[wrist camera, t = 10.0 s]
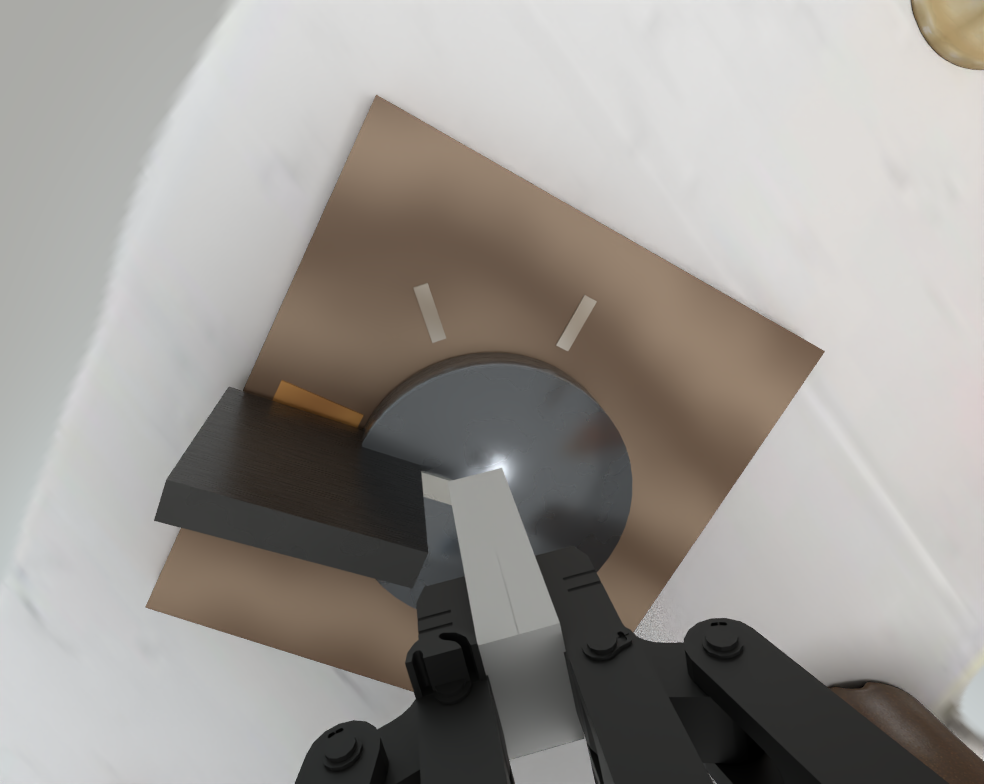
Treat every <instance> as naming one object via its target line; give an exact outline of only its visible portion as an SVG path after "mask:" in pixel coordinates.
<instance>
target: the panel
mask: <svg viewBox="0 0 984 784" xmlns="http://www.w3.org/2000/svg"><path fill="white" fill-rule="evenodd" d="M487 352H492V353H510V354H516V355H523V356H527V357H530V358H534V359H537V360H540V361H543V362H545V363H548V364H550V365H552V366H554V367H556V368H558V369H560V370H562V371H563V372H565V373H566V374H568V375H570V376H571V377H573V378H574V379H575V380H576V381H577V382H579V383H580V384H581V385H582V386H583V387H585V388H586V390H587V391H588V392H589V393H590V394H591V395H592V396H593V397H594V399H595V400H596V401H597V402H598V403H599V405H600V406H601V407H602V408H603V410H604V411H605V412H606V414H607V415H608V416H609V417H610V419H611V420H612V422H613V423H614V425H615V426H616V428H617V430H618V431H619V433H620V435H621V437H622V440H623V442H624V444H625V446H626V449H627V453H628V456H629V460H630V464H631V471H632V479H633V481H632V500H631V507H630V512H629V516H628V519H627V522H626V526H625V529H624V531H623V533H622V535H621V537H620V540H619V542H618V544H617V545H616V547H615V549H614V550H613V552H612V554H611V555H610V557H609V558H608V559H607V561H606V562H605V563H604V564H603V566H602V567H601V568H600V570H599V571H598V572H597V574H598V576H599V578H600V580H601V583H602V584H603V586H604V588H605V590H606V592H607V594H608V596H609V598H610V600H611V602H612V604H613V606H614V608H615V610H616V612H617V614H618V616H619V618H620V620H621V621H622V623H623V625H624V626H625V627H627V628H629V629H630V630H631V631H632V632H634V630H635V629H636V628H637V626H638V625H639V623H640V622H641V620H642V619H643V617H644V616H645V614H646V613H647V611H648V610H649V608H650V607H651V606H652V604H653V603H654V601H655V600H656V598H657V597H658V595H659V594H660V592H661V591H662V589H663V588H664V587H665V585H666V584H667V582H668V581H669V579H670V578H671V576H672V575H673V573H674V572H675V570H676V569H677V567H678V566H679V565H680V563H681V562H682V560H683V559H684V557H685V556H686V554H687V553H688V551H689V550H690V548H691V547H692V545H693V544H694V543H695V541H696V540H697V538H698V537H699V535H700V534H701V532H702V531H703V529H704V528H705V526H706V525H707V523H708V522H709V521H710V519H711V518H712V516H713V515H714V513H715V512H716V510H717V509H718V507H719V506H720V504H721V503H722V501H723V500H724V499H725V497H726V496H727V494H728V493H729V491H730V490H731V488H732V487H733V485H734V484H735V482H736V481H737V479H738V478H739V477H740V475H741V474H742V472H743V471H744V469H745V468H746V466H747V465H748V463H749V462H750V460H751V459H752V457H753V456H754V455H755V453H756V452H757V450H758V449H759V447H760V446H761V444H762V443H763V441H764V440H765V438H766V437H767V435H768V434H769V433H770V431H771V430H772V428H773V427H774V425H775V424H776V422H777V421H778V419H779V418H780V416H781V415H782V414H783V412H784V411H785V409H786V408H787V406H788V405H789V403H790V402H791V400H792V399H793V397H794V396H795V394H796V393H797V392H798V390H799V389H800V387H801V386H802V384H803V383H804V381H805V380H806V378H807V377H808V375H809V374H810V372H811V371H812V370H813V368H814V367H815V365H816V364H817V362H818V361H819V359H820V358H821V356H822V355H823V353H824V352H825V351H823V350H822V349H820V348H818V347H816V346H815V345H813V344H811V343H809V342H808V341H806V340H804V339H802V338H801V337H799V336H797V335H795V334H794V333H792V332H790V331H788V330H787V329H785V328H783V327H781V326H780V325H778V324H776V323H774V322H773V321H771V320H769V319H767V318H766V317H764V316H762V315H760V314H759V313H757V312H755V311H753V310H752V309H750V308H748V307H746V306H745V305H743V304H741V303H739V302H738V301H736V300H734V299H732V298H731V297H729V296H727V295H725V294H724V293H722V292H720V291H719V290H717V289H715V288H713V287H712V286H710V285H708V284H706V283H705V282H703V281H701V280H699V279H698V278H696V277H694V276H692V275H691V274H689V273H687V272H685V271H684V270H682V269H680V268H678V267H677V266H675V265H673V264H671V263H670V262H668V261H666V260H664V259H663V258H661V257H659V256H657V255H656V254H654V253H652V252H650V251H649V250H647V249H645V248H643V247H642V246H640V245H638V244H636V243H635V242H633V241H631V240H629V239H628V238H626V237H624V236H622V235H621V234H619V233H617V232H615V231H614V230H612V229H610V228H608V227H607V226H605V225H603V224H601V223H600V222H598V221H596V220H594V219H593V218H591V217H589V216H587V215H586V214H584V213H582V212H580V211H579V210H577V209H575V208H573V207H572V206H570V205H568V204H566V203H565V202H563V201H561V200H559V199H558V198H556V197H554V196H552V195H551V194H549V193H547V192H545V191H544V190H542V189H540V188H538V187H537V186H535V185H533V184H531V183H530V182H528V181H526V180H524V179H523V178H521V177H519V176H517V175H516V174H514V173H512V172H510V171H509V170H507V169H505V168H503V167H502V166H500V165H498V164H496V163H495V162H493V161H491V160H489V159H488V158H486V157H484V156H482V155H481V154H479V153H477V152H475V151H474V150H472V149H470V148H468V147H467V146H465V145H463V144H461V143H460V142H458V141H456V140H454V139H453V138H451V137H449V136H447V135H446V134H444V133H442V132H440V131H439V130H437V129H435V128H433V127H432V126H430V125H428V124H426V123H425V122H423V121H421V120H420V119H418V118H416V117H414V116H413V115H411V114H409V113H407V112H406V111H404V110H402V109H400V108H399V107H397V106H395V105H393V104H392V103H390V102H388V101H386V100H385V99H383V98H381V97H379V96H378V95H376V96H375V99H374V101H373V103H372V105H371V107H370V110H369V112H368V114H367V116H366V119H365V121H364V123H363V125H362V127H361V130H360V132H359V134H358V136H357V139H356V141H355V143H354V145H353V147H352V150H351V152H350V154H349V156H348V158H347V161H346V163H345V165H344V167H343V170H342V172H341V174H340V176H339V178H338V181H337V183H336V185H335V187H334V190H333V192H332V194H331V196H330V198H329V201H328V203H327V205H326V207H325V210H324V212H323V214H322V216H321V218H320V221H319V223H318V225H317V227H316V230H315V232H314V234H313V236H312V238H311V241H310V243H309V245H308V247H307V249H306V252H305V254H304V256H303V258H302V261H301V263H300V265H299V267H298V269H297V272H296V274H295V276H294V278H293V281H292V283H291V285H290V287H289V289H288V292H287V294H286V296H285V298H284V301H283V303H282V305H281V307H280V309H279V312H278V314H277V316H276V318H275V321H274V323H273V325H272V327H271V329H270V332H269V334H268V336H267V338H266V341H265V343H264V345H263V347H262V349H261V352H260V354H259V356H258V358H257V360H256V363H255V365H254V367H253V369H252V372H251V374H250V376H249V378H248V380H247V383H246V385H245V387H244V389H243V391H244V392H247V393H250V394H253V395H256V396H260V397H263V398H266V399H269V400H272V401H275V402H278V403H281V404H285V405H288V406H291V407H294V408H297V409H300V410H303V411H307V412H310V413H313V414H316V415H319V416H322V417H325V418H328V419H332V420H335V421H338V422H341V423H344V424H347V425H350V426H353V427H357V428H360V429H363V428H364V426H365V424H366V423H367V421H368V419H369V418H370V416H371V415H372V413H373V412H374V410H375V409H376V408H377V407H378V406H379V404H380V403H381V402H382V401H383V400H384V399H385V397H386V396H387V395H389V394H390V393H391V392H392V391H393V390H394V389H395V388H396V387H398V386H399V385H400V384H401V383H403V382H404V381H406V380H407V379H408V378H410V377H411V376H413V375H414V374H416V373H418V372H420V371H422V370H424V369H426V368H427V367H429V366H431V365H434V364H436V363H439V362H442V361H445V360H447V359H450V358H455V357H459V356H463V355H468V354H476V353H487ZM146 608H149V609H152V610H155V611H158V612H161V613H165V614H168V615H171V616H174V617H177V618H181V619H184V620H187V621H190V622H193V623H196V624H200V625H203V626H206V627H209V628H212V629H215V630H219V631H222V632H225V633H228V634H231V635H235V636H238V637H241V638H244V639H247V640H250V641H254V642H257V643H260V644H263V645H266V646H270V647H273V648H276V649H279V650H282V651H285V652H289V653H292V654H295V655H298V656H301V657H304V658H308V659H311V660H314V661H317V662H320V663H324V664H327V665H330V666H333V667H336V668H339V669H343V670H346V671H349V672H352V673H355V674H359V675H362V676H365V677H368V678H371V679H374V680H378V681H381V682H384V683H387V684H390V685H393V686H397V687H400V688H403V689H406V690H409V691H413V688H412V684H411V681H410V678H409V675H408V672H407V669H406V665H405V660H406V656H407V652H408V651H409V650H410V648H411V647H412V646H413V644H414V643H415V642H416V641H418V640H419V639H418V635H419V633H418V623H417V622H418V620H417V609H414V608H412V607H410V606H408V605H407V604H405V603H404V602H402V601H400V600H399V599H397V598H396V597H394V596H393V595H392V594H391V593H389V592H388V591H387V590H386V589H385V588H383V587H382V586H381V585H380V584H379V582H378V581H377V580H376V579H374V578H370V577H366V576H362V575H359V574H355V573H351V572H347V571H344V570H340V569H336V568H332V567H328V566H325V565H321V564H317V563H313V562H309V561H306V560H302V559H298V558H294V557H290V556H287V555H283V554H279V553H275V552H271V551H268V550H264V549H260V548H256V547H253V546H249V545H245V544H241V543H237V542H234V541H230V540H226V539H222V538H218V537H215V536H211V535H207V534H203V533H199V532H196V531H192V530H188V529H184V528H181V529H180V531H179V534H178V536H177V538H176V540H175V543H174V545H173V547H172V549H171V551H170V554H169V556H168V558H167V560H166V562H165V565H164V567H163V569H162V571H161V574H160V576H159V578H158V580H157V582H156V585H155V587H154V589H153V591H152V594H151V596H150V598H149V600H148V602H147V605H146ZM413 692H414V691H413Z"/></svg>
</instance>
